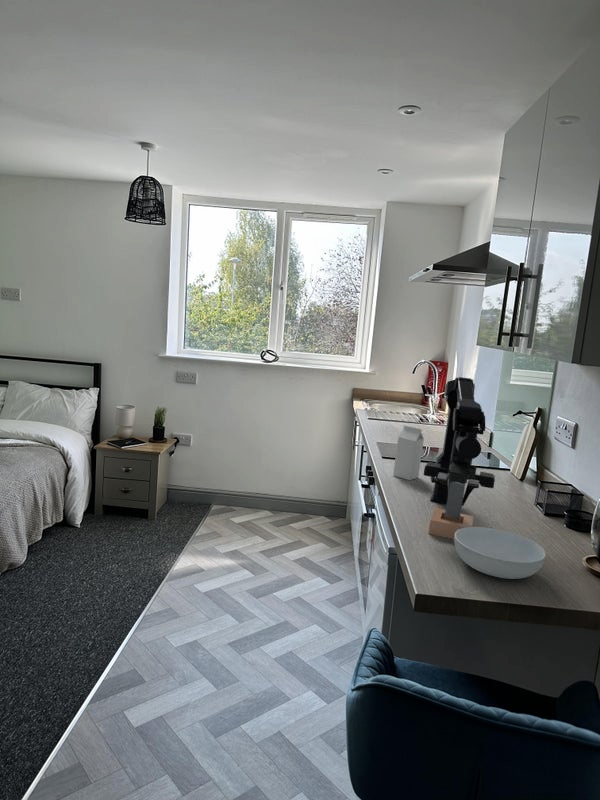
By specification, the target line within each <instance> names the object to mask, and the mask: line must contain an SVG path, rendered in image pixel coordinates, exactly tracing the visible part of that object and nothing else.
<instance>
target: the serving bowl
mask: <svg viewBox="0 0 600 800" xmlns="http://www.w3.org/2000/svg"><path fill="white" fill-rule="evenodd" d="M453 541H454V542H453V543H454V546H455V550H456V552H457V554H458V556H459V557H460V558H461V560H462V561H463V562H464V563H465V564H466V565H468V566H469V567H471V568H472V569H474V570H476V571H478V572H480V573H482V574H485V575H488V576H492V577H494V578H495V577H496V578H499V579H510V580H515V579H524V578H529V577H531V576H532V575H534V574H536V573H537V572H539V570H540V569H541V568H542V566H543V564H544V563H545V559H546V555H547V553H546V551H545V549H544V548H543V547H542V546H541V545H540V544H538V543H537V542H535V541H533V540H532V539H530V538H527V537H525V536H523V535H521V534H518V533H515V532H510V531H508V530H503V529H499V528H493V527H486V526H485V527H484V526H472V527H467V528H462V529H459V530H457V531H456V532H455V535H454V539H453Z"/></svg>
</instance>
